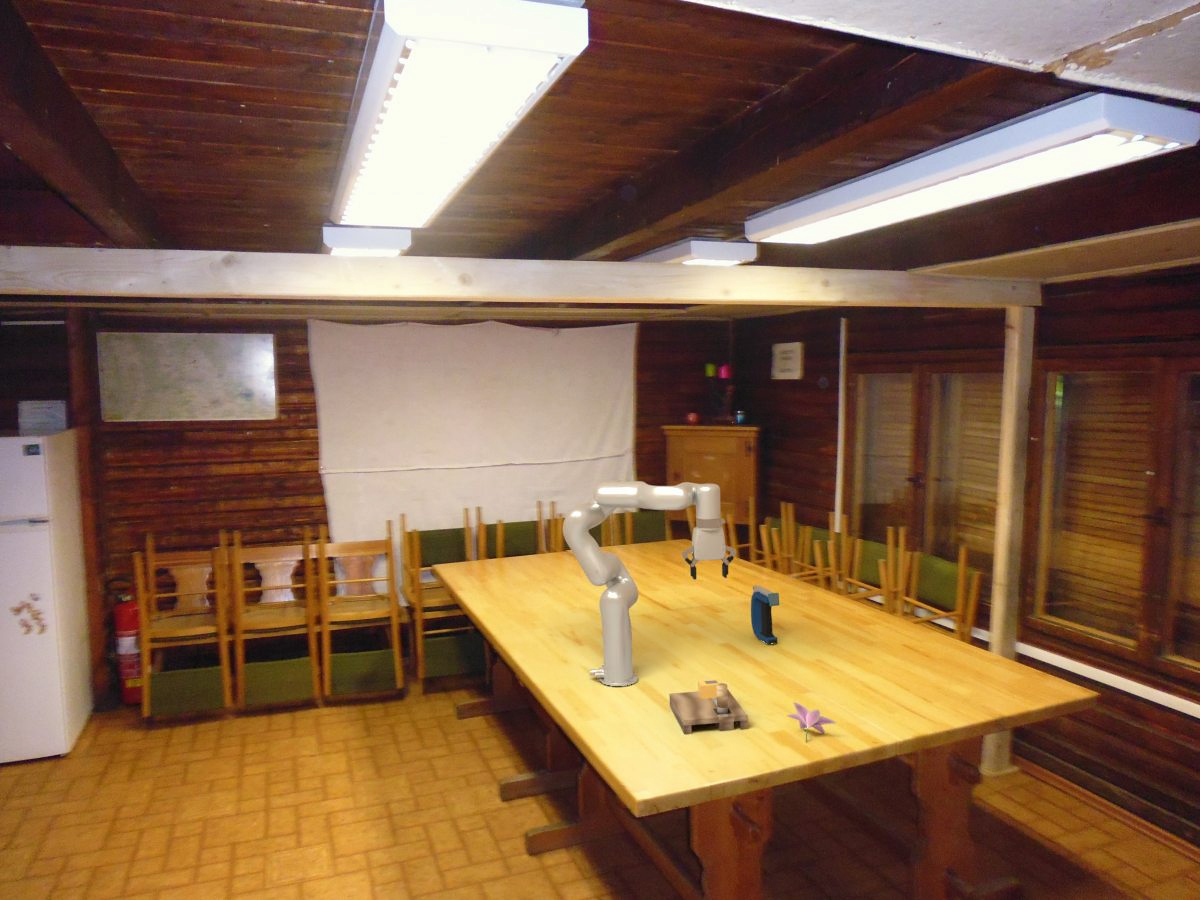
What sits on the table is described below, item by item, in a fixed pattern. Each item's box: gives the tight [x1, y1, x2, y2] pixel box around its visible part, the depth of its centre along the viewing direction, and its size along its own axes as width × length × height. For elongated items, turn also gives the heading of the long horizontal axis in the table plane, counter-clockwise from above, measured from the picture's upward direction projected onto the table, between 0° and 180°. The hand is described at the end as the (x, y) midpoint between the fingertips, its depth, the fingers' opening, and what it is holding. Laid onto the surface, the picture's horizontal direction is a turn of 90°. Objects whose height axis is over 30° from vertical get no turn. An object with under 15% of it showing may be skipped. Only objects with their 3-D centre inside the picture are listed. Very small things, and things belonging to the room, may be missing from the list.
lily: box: [786, 701, 837, 743], centre depth 220 cm, size 12×12×10 cm
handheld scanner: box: [750, 585, 780, 645], centre depth 304 cm, size 5×16×20 cm, turn 15°
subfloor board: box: [669, 688, 749, 735], centre depth 235 cm, size 18×20×4 cm
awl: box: [717, 682, 729, 715], centre depth 229 cm, size 3×3×9 cm
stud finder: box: [697, 678, 725, 699], centre depth 241 cm, size 7×4×4 cm, turn 97°
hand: (709, 577), depth 254 cm, fingers open, 9 cm apart
